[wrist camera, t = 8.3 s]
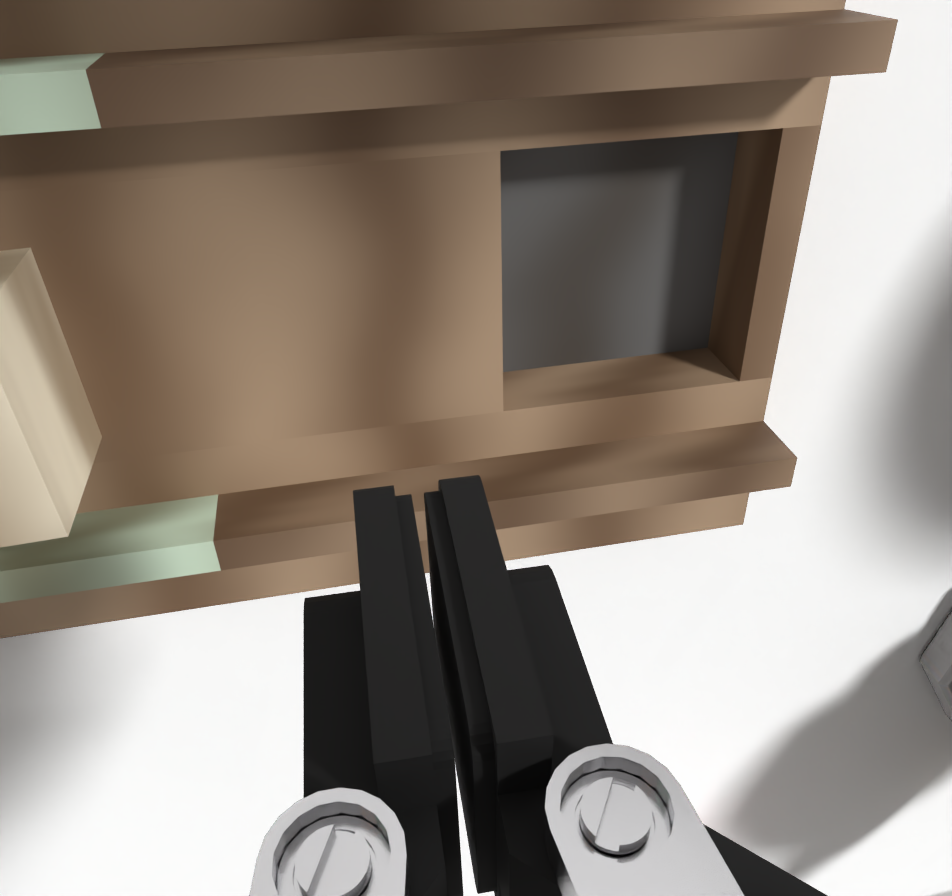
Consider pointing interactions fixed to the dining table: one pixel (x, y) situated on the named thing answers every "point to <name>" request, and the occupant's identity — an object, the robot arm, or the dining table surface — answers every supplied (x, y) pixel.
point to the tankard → (940, 665)
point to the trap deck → (405, 271)
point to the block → (38, 412)
